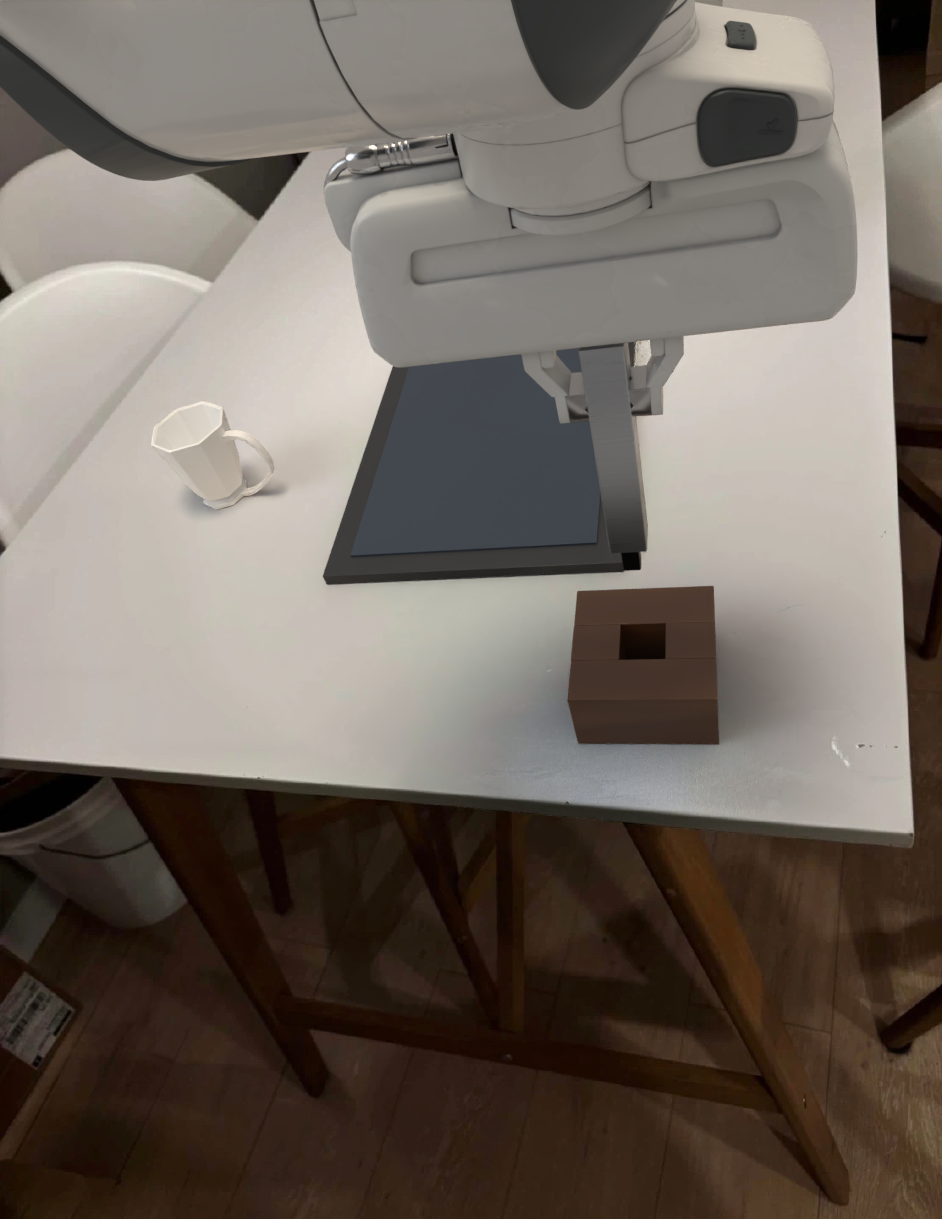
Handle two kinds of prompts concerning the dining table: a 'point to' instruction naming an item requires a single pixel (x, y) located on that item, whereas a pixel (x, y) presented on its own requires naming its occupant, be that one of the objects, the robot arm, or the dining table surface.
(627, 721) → the brown block with hole
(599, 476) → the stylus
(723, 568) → the dining table surface
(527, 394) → the drawing tablet
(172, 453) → the cup
